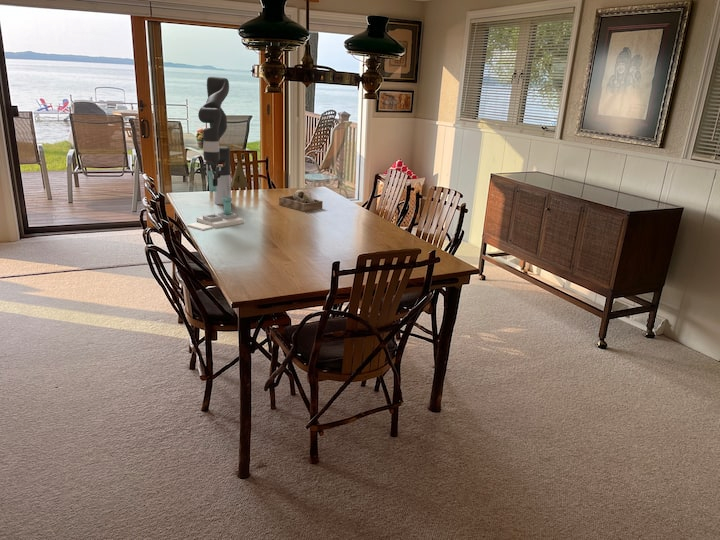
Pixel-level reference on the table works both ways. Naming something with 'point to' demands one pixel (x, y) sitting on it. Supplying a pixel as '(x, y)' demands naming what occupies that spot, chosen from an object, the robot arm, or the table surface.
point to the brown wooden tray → (300, 204)
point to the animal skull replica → (303, 196)
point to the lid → (199, 226)
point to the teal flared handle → (227, 205)
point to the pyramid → (239, 178)
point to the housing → (220, 220)
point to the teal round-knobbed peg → (211, 182)
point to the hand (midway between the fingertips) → (212, 185)
